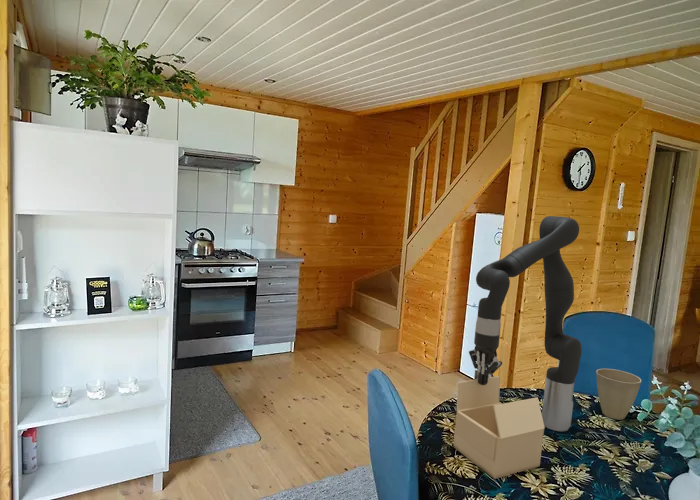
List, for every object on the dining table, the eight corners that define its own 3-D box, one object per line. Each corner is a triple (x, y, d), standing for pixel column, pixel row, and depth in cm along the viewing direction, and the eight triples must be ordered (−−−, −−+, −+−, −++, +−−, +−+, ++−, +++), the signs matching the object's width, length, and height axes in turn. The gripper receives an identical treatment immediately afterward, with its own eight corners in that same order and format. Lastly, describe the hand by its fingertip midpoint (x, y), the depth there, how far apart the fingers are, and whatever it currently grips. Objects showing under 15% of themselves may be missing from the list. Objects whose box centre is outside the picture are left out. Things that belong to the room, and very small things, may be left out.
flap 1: (499, 402, 154) (497, 402, 154) (500, 376, 153) (499, 376, 154) (457, 410, 146) (456, 409, 146) (458, 382, 145) (457, 382, 146)
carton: (497, 436, 155) (500, 402, 154) (540, 465, 139) (545, 427, 138) (452, 447, 147) (455, 410, 145) (493, 479, 131) (497, 439, 129)
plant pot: (635, 414, 181) (641, 374, 179) (635, 428, 168) (641, 386, 166) (593, 403, 188) (598, 365, 187) (589, 416, 176) (594, 375, 174)
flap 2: (536, 397, 140) (537, 397, 140) (543, 428, 138) (544, 428, 137) (493, 405, 132) (494, 405, 132) (499, 438, 130) (501, 438, 129)
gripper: (512, 336, 143) (506, 390, 144) (481, 325, 154) (477, 375, 156) (493, 338, 139) (488, 393, 141) (464, 326, 151) (459, 378, 152)
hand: (482, 384), depth 148 cm, fingers closed
